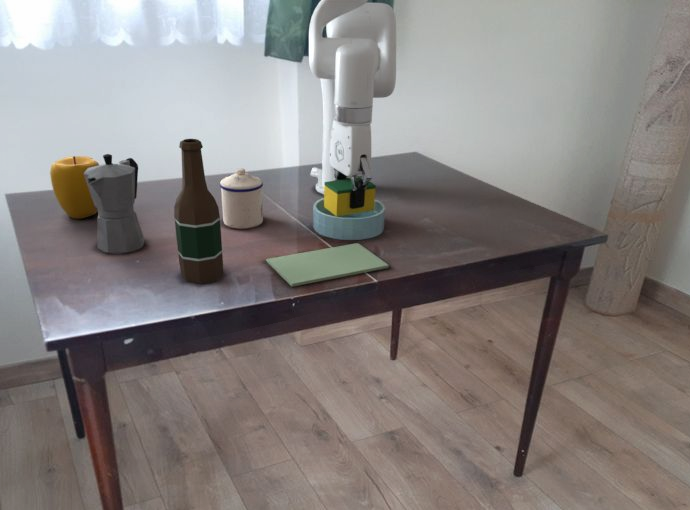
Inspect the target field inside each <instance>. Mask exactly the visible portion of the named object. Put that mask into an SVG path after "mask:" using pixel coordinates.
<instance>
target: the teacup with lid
mask: <svg viewBox="0 0 690 510" xmlns="http://www.w3.org/2000/svg"><path fill="white" fill-rule="evenodd" d="M263 186H264V183H263V181H262V179H261V178H260V177H258V176H254V175H252V174H250V173H247V172H246V169H245V168H241V167H240V168H236V170H235V172H234V173H233V174H231V175H230V176H225V177H224V178H222V179H221V180H220V183H219V187H220V190H221V206H222V220H223V221H222V222H223V224H224V225H225V226H227V227H229V228H232V229H238V230H246V229H249V228H254V227H257V226H259V225H261V224H263V221H264V211H263V210H264V209H263Z"/></svg>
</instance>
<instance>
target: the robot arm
mask: <svg viewBox="0 0 690 510" xmlns="http://www.w3.org/2000/svg"><path fill="white" fill-rule="evenodd" d="M309 21H310V22H309V25H308V27H309V28H308V63H309V64H308V65H309V69H310V72H311V74H312V75H313V76H314V77H315V78H317V79H320V87H321V88H320V89H321V98H322V150H321V151H322V153H321V155H322V157H321V158H322V159H321V168H319V167H315V166H314V167H312V168H311V171H310V173H309V176H310V178H314V179H315V178H317V182H316V183H315V190H316V192H318V193H319V194H322V195H324V186H325V185H324V184H325V182H329V181H336V180H343V179H350V178H351V182H352V189H351V190H350V208H351V209H354V208H361V207H364V200H365V189H366V188H367V185H368V183H369V182H371V180H372V179H373V175H372V173H371V166H372V126H371V124H372V122H373V108H374V107H373V105H374V104H373V103H374V98H375V99H380V98H381V99H383V98H388V97H390V96H391V95H392V94H393V93H394V90H395V87H396V81H397V20H396V14H395V10H394V8H392V6H391V5H389V4H387V3H384V2H369V0H320V1H319V2H318V4H317V5H316V6H315V8H314V10H313V12H312V14H311V18H310V20H309ZM325 27H326V28H325ZM324 29H325V30H326V31H325V32H326V37H323V31H324ZM357 177H361V179H360V180H359V181H358V182H356V178H357Z"/></svg>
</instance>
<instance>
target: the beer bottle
mask: <svg viewBox="0 0 690 510" xmlns="http://www.w3.org/2000/svg"><path fill="white" fill-rule="evenodd" d="M178 147H179V148H180V150H181V152H180V153H181V174H182V175H181V176H182V177H181V180H182V181H181V182H182V183H181V190H180V192H179V193H178V195H177V197H176V199H175V201H174V202H175V203H174V206H173V212H174V213H173V217H174V226H175V235H176V245H177V254H178V263H179V264H178V265H179V270H180V275H181V276H182V277H183V280H185V281H186V282H187V283H192V284H199V285H202V284H203V285H204V284H207V283H208V284H209V283H213V282H216V281H218V280H219V279H220V278H221V277H222V276H223V274H224V256H223V244H222V243H223V242H222V228H221V216H220V209H219V205H218V203H217V201H216V198H215V197H214V195H213V194H212V193H211V191H210V190H209V189H208V185H207V181H206V175H205V169H204V161H203V154H202V149H203V148H204V147H203V143H202V141H201V140H200V139H197V138H185V139H182V140H180V141H179V144H178Z"/></svg>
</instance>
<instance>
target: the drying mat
mask: <svg viewBox="0 0 690 510" xmlns="http://www.w3.org/2000/svg"><path fill="white" fill-rule="evenodd" d="M266 263H267V264H268V265H269V266H270V267H271V268H272V269H273V270H274V271H275V272H276V273H277V274H278V275H279V276H280V277H281V278H282V279H283V280H284V281H285V282H287V284H288V285H290V287H298V286H303V285H307V284H313V283H318V282H324V281H328V280H335V279H339V278H343V277H349V276H354V275H359V274H364V273H370V272H374V271H380V270H385V269H389V267H390V266H389V264H388V263H386V262H385V261H384V260H382V259H381V258H380V257H378V256H377V255H375V254H374V253H373V252H371V251H370V250H369V249H367V248H366V247H364V246H363V245H361V243H359V242H356V243H351V244H345V245H344V244H343V245H339V246H332V247H328V248H327V247H326V248H322V249H321V248H320V249H316V250H309V251H305V252H304V251H303V252H299V253H293V254H286V255H282V256H276V257H269V258H266Z"/></svg>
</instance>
